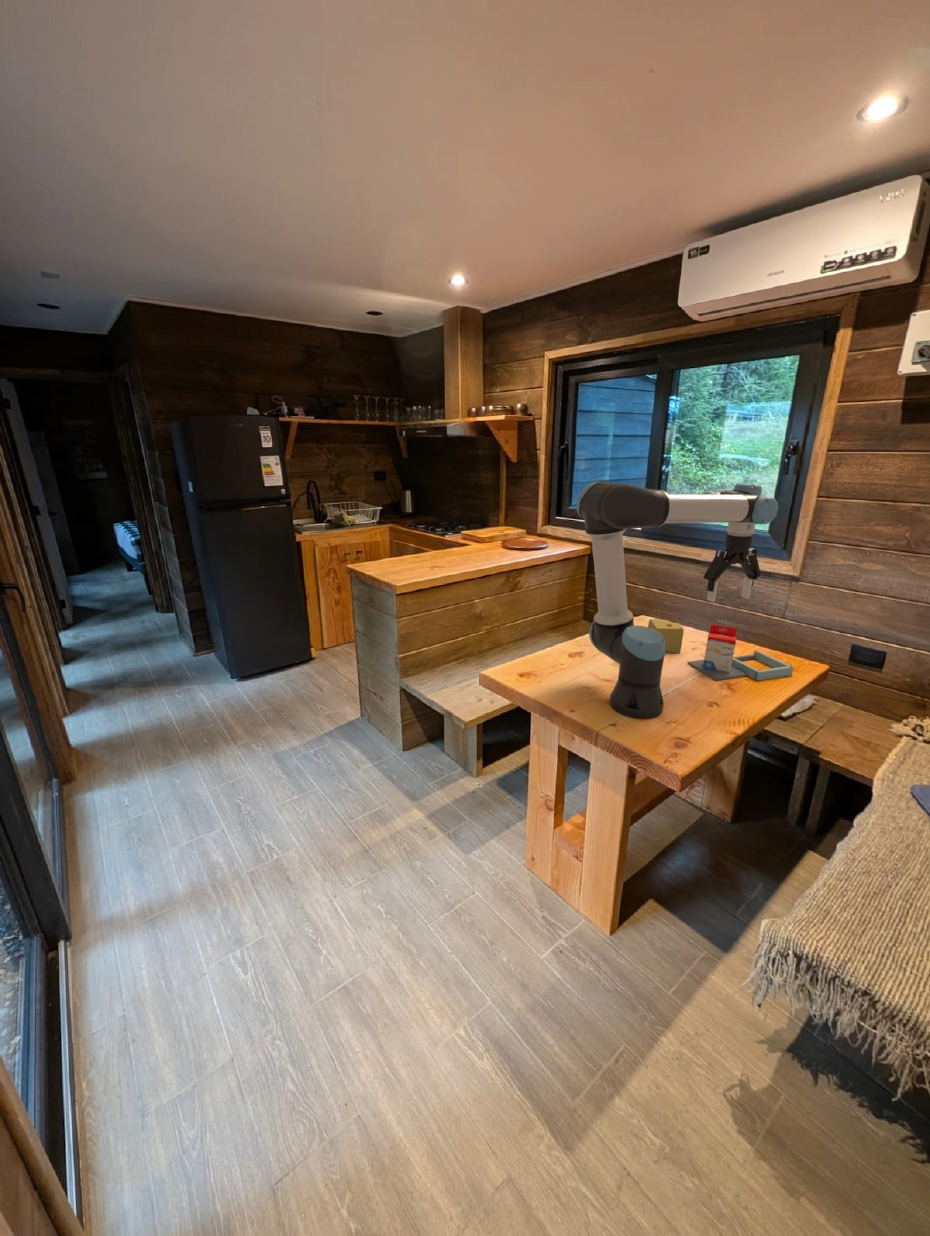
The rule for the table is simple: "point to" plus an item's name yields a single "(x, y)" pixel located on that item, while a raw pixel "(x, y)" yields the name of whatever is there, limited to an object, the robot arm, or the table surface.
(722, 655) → the ink box
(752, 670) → the open picture frame
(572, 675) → the table surface
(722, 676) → the slate pad
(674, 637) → the cheese
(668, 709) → the table surface
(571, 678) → the table surface
